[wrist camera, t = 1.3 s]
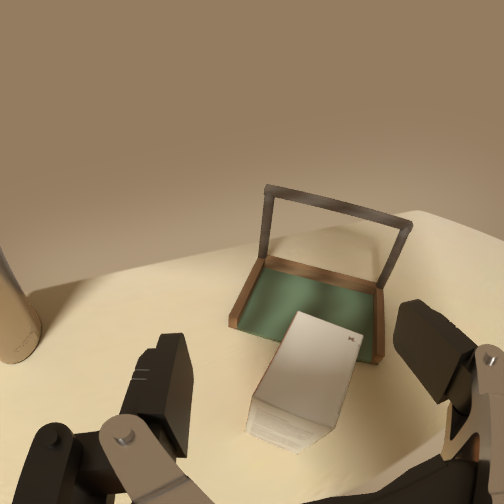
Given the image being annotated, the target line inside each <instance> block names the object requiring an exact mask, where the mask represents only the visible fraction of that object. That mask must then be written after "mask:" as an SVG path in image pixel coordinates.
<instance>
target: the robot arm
mask: <svg viewBox="0 0 504 504" xmlns="http://www.w3.org/2000/svg"><path fill="white" fill-rule="evenodd" d="M40 335H41V322H40V319H39V317H38V315H37V314H36V312H35V311H34V309H33V307H32V306H31V304H30V303H29V301H28V299H27V297H26V296H25V294H24V292H23V291H22V289H21V287H20V285H19V283H18V282H17V280H16V278H15V276H14V274H13V272H12V270H11V268H10V266H9V264H8V262H7V260H6V258H5V256H4V254H3V252H2V250H1V247H0V360H1V361H2V362H4V363H7V364H14V363H18V362H20V361H22V360H24V359H25V358H26V357H28V356H29V355H30V354H31V353H32V351H33V350H34V349H35V347H36V346H37V343H38V341H39V338H40ZM393 344H394V347H395V349H396V351H397V352H398V354H399V355H400V356H401V357H402V359H403V360H404V361H405V362H406V364H407V365H408V366H409V368H410V369H411V370H412V371H413V373H414V374H415V375H416V377H417V378H418V379H419V381H420V382H421V383H422V385H423V386H424V387H425V389H426V390H427V391H428V393H429V394H430V395H431V397H432V398H433V399H434V401H435V402H436V403H437V405H438V404H440V403H442V402H444V401H446V400H448V399H449V400H450V401H451V402H450V404H449V406H448V409H447V421H446V431H445V439H444V446H443V450H442V453H441V454H438V455H436V456H435V457H433V458H431V459H429V460H428V461H425V462H423V463H421V464H419V465H417V466H415V467H413V468H411V469H409V470H408V471H406V472H405V473H404V474H403V475H401V476H400V477H398V478H397V479H395V480H394V481H393V482H391V483H390V484H388V485H387V486H386V487H384V488H382V489H381V490H379V491H377V492H375V493H369V494H361V495H352V496H339V497H329V498H325V499H321V500H317V501H312V502H307V503H302V504H504V352H503V351H502V350H501V349H500V348H498V347H496V346H494V345H490V344H484V345H481V346H479V347H478V346H477V345H476V344H475V343H474V342H473V341H472V340H471V339H470V338H468V337H467V336H466V335H465V334H464V333H463V332H462V331H461V330H460V329H458V328H456V326H455V325H454V324H453V323H452V322H449V320H448V319H447V318H446V317H445V316H443V315H442V314H441V313H439V312H437V311H435V310H432V309H431V308H430V307H429V306H427V305H426V304H425V303H424V302H423V301H421V300H420V299H416V300H412V301H408V302H403V303H402V304H401V305H400V307H399V311H398V316H397V321H396V325H395V330H394V334H393ZM193 383H194V377H193V368H192V364H191V360H190V357H189V353H188V349H187V345H186V341H185V337H184V335H183V333H169V334H161V335H160V337H159V340H158V343H157V346H156V348H150V349H147V350H146V351H145V352H144V353H143V354H142V355H141V356H140V357H139V359H138V361H137V364H136V367H135V371H134V372H133V375H132V380H131V381H130V384H129V387H128V390H127V392H126V395H125V398H124V401H123V404H122V407H121V410H120V413H119V415H117V416H114V417H112V418H110V419H108V420H107V421H106V422H105V423H104V424H103V425H102V427H101V429H100V431H95V432H88V433H79V434H73V433H72V431H71V430H70V429H69V428H68V427H67V426H66V425H64V424H62V423H57V422H55V423H49V424H46V425H44V426H43V427H41V428H40V429H39V430H38V432H37V433H36V435H35V437H34V439H33V442H32V444H31V447H30V450H29V452H28V455H27V458H26V460H25V463H24V466H23V469H22V472H21V475H20V478H19V481H18V484H17V488H16V491H15V494H14V498H13V502H12V504H114V501H115V494H118V493H128V495H129V497H130V498H131V500H132V503H131V504H214V503H213V502H212V501H211V500H210V499H209V498H208V497H207V495H206V494H205V493H204V492H203V491H202V490H201V489H200V488H199V487H198V486H197V485H196V484H195V483H194V482H193V481H192V480H191V479H190V478H189V477H188V476H186V475H185V474H184V473H183V471H182V470H181V469H180V468H179V467H178V466H177V464H176V458H187V450H188V437H189V425H190V413H191V403H192V393H193Z"/></svg>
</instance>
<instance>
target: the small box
mask: <svg viewBox="0 0 504 504" xmlns="http://www.w3.org/2000/svg"><path fill="white" fill-rule="evenodd" d="M362 340H363V335H361V334H358V333H356V332H353V331H351V330H348V329H345V328H342V327H340V326H337V325H334V324H332V323H329V322H326V321H324V320H321V319H319V318H316V317H313V316H311V315H308V314H305V313H303V312H300V311H297V312H296V314H295V316H294V318H293V320H292V322H291V324H290V326H289V328H288V330H287V332H286V334H285V336H284V338H283V340H282V342H281V344H280V346H279V348H278V350H277V351H276V353H275V355H274V357H273V359H272V361H271V363H270V365H269V366H268V368H267V370H266V372H265V374H264V376H263V377H262V379H261V381H260V383H259V384H258V386H257V388H256V390H255V392H254V393H253V395H252V400H251V405H250V409H249V414H248V419H247V424H246V429H245V433H246V434H248V435H250V436H252V437H254V438H257V439H259V440H261V441H263V442H266V443H268V444H271V445H273V446H276V447H278V448H281V449H283V450H286V451H288V452H291V453H294V454H299V453H300V452H302V451H303V450H305V449H307V448H308V447H310V446H311V445H313V444H314V443H315V442H317V441H318V440H320V439H321V438H323V437H324V436H325V435H327V434H328V433H329V432H331V431H332V430H333V429H335V427H336V424H337V421H338V417H339V414H340V411H341V408H342V404H343V401H344V398H345V395H346V392H347V389H348V386H349V383H350V379H351V376H352V373H353V369H354V366H355V363H356V359H357V356H358V352H359V349H360V346H361V343H362Z"/></svg>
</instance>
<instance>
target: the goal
mask: <svg viewBox="0 0 504 504" xmlns="http://www.w3.org/2000/svg"><path fill="white" fill-rule="evenodd" d="M264 195H265V198H264V208H263V216H262V225H261V236H260V244H259V253H258V258H257V260H256V262H255V264H254V266H253V268H252V270H251V272H250V274H249V276H248V278H247V280H246V282H245V284H244V286H243V288H242V290H241V293H240V295H239V297H238V299H237V301H236V303H235V305H234V307H233V309H232V311H231V313H230V315H229V327H231V328H234V329H237V330H240V331H244V332H247V333H250V334H253V335H257V336H260V337H264V338H267V339H271V340H274V341H278V342H282V340H283V338H284V336H285V334H286V332H287V330H288V328H289V326H290V324H291V322H292V320H293V318H294V316H295V314H296V312H297V311H300V312H303V313H305V314H308V315H311V316H313V317H316V318H319V319H321V320H324V321H326V322H329V323H332V324H334V325H337V326H340V327H342V328H345V329H348V330H351V331H353V332H356V333H358V334H361V335H363V340H362V343H361V346H360V349H359V352H358V356H357V359H356V361H360V362H365V363H370V364H375V365H378V363H379V362H380V361H381V360H382V359H383V357H384V356H385V320H384V295H383V288H384V286H385V284H386V282H387V280H388V278H389V276H390V274H391V272H392V270H393V268H394V266H395V264H396V261H397V259H398V257H399V255H400V253H401V250H402V248H403V246H404V244H405V241H406V239H407V237H408V234H409V232H411V230H412V228H413V223H412V221H410V220H406V219H403V218H400V217H397V216H393V215H390V214H386V213H383V212H380V211H376V210H373V209H369V208H365V207H362V206H358V205H354V204H350V203H347V202H343V201H339V200H335V199H331V198H327V197H323V196H319V195H314V194H310V193H306V192H302V191H297V190H293V189H288V188H283V187H279V186H274V185H269V184H267V185H266V186H265V189H264ZM275 197H277V198H282V199H286V200H291V201H295V202H299V203H303V204H308V205H312V206H316V207H320V208H324V209H328V210H332V211H336V212H340V213H344V214H348V215H351V216H355V217H359V218H362V219H366V220H370V221H373V222H377V223H380V224H384V225H387V226H391V227H394V228H398V229H400V231H399V234H398V236H397V239H396V241H395V244H394V246H393V248H392V251H391V253H390V255H389V258H388V260H387V262H386V264H385V266H384V269H383V271H382V273H381V275H380V277H379V279H378V281H377V283H375V282H371V281H367V280H363V279H359V278H356V277H352V276H348V275H344V274H340V273H336V272H332V271H328V270H324V269H321V268H317V267H313V266H309V265H305V264H301V263H297V262H293V261H289V260H286V259H282V258H278V257H274V256H270V255H267V252H268V244H269V236H270V229H271V221H272V214H273V206H274V198H275Z"/></svg>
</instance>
